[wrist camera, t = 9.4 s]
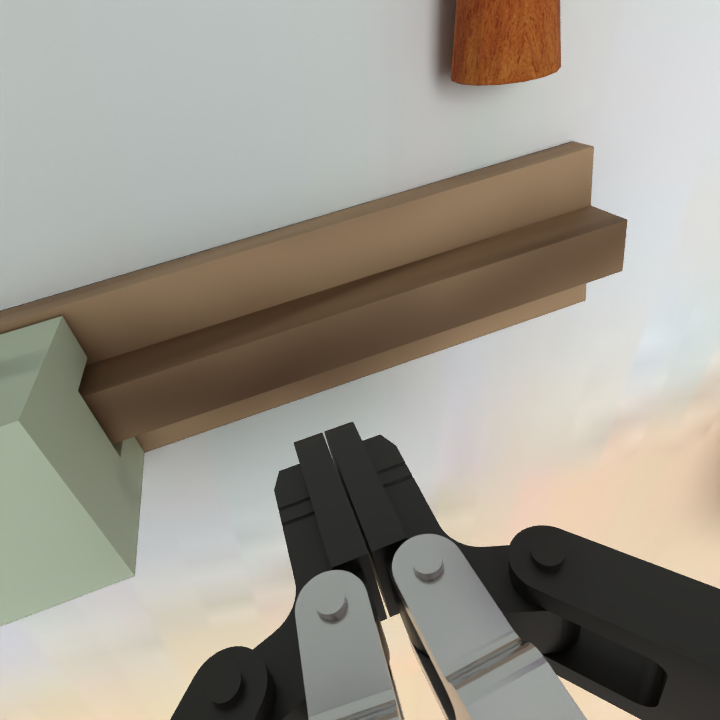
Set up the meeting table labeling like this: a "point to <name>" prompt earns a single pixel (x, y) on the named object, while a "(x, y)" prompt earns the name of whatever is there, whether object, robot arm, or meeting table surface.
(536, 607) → the robot arm
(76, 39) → the meeting table surface
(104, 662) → the meeting table surface
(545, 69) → the kendama
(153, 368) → the rail
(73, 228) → the meeting table surface
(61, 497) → the keeper
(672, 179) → the meeting table surface
